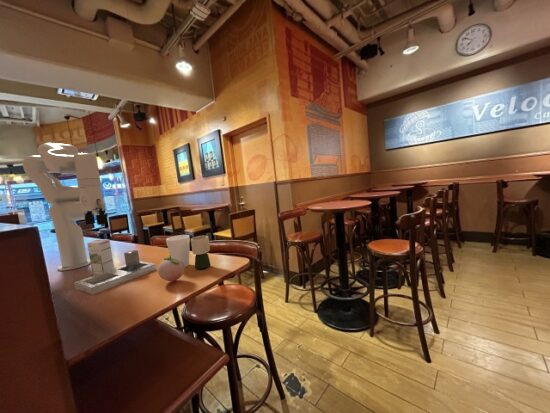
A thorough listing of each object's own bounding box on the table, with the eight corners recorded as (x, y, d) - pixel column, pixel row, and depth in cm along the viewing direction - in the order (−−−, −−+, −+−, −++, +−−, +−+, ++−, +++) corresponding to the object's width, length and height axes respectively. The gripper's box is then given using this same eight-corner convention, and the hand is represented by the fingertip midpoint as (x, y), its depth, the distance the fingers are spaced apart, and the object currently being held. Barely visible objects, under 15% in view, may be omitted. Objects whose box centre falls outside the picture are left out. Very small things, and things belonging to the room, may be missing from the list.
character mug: (218, 266, 96) (215, 236, 95) (204, 272, 91) (200, 241, 89) (201, 262, 103) (198, 234, 101) (188, 268, 97) (184, 238, 95)
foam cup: (170, 265, 102) (166, 237, 101) (191, 261, 106) (188, 233, 105) (170, 272, 94) (166, 241, 93) (193, 267, 98) (190, 237, 96)
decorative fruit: (154, 285, 82) (150, 258, 81) (173, 276, 89) (169, 251, 88) (172, 289, 78) (168, 261, 77) (190, 279, 85) (187, 253, 84)
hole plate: (75, 288, 84) (71, 265, 83) (138, 265, 105) (135, 247, 104) (92, 294, 78) (88, 269, 77) (156, 269, 99) (153, 249, 98)
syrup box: (115, 270, 102) (110, 238, 100) (104, 275, 96) (98, 242, 94) (103, 270, 102) (98, 239, 101) (91, 276, 96) (86, 242, 95)
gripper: (69, 185, 96) (76, 225, 97) (89, 182, 87) (96, 226, 89) (90, 184, 102) (96, 222, 104) (110, 181, 94) (116, 222, 96)
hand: (96, 224), depth 97 cm, fingers open, 9 cm apart
